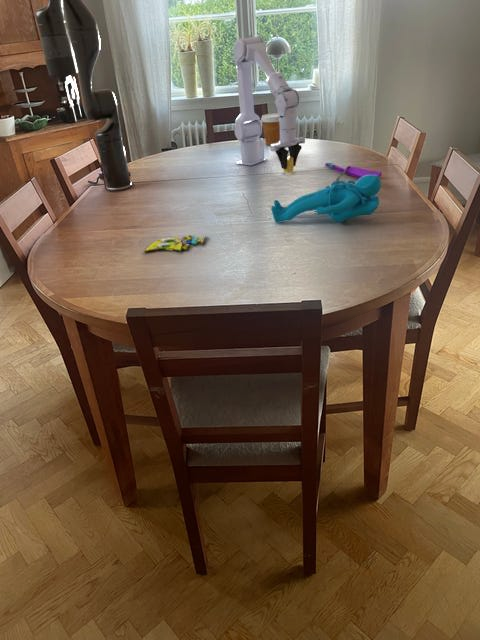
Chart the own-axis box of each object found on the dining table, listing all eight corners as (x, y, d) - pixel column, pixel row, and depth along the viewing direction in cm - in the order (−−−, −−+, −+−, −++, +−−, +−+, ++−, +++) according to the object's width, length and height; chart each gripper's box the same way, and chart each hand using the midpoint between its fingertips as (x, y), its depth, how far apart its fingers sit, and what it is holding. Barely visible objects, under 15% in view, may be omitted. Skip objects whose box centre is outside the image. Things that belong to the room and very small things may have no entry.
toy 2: (275, 189, 144) (378, 163, 133) (284, 222, 149) (384, 199, 138) (266, 210, 130) (379, 182, 120) (276, 245, 135) (386, 221, 125)
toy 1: (199, 248, 125) (143, 249, 127) (199, 251, 125) (144, 252, 127) (206, 233, 133) (154, 234, 135) (206, 236, 133) (154, 237, 136)
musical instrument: (369, 191, 157) (389, 166, 169) (368, 185, 155) (389, 160, 168) (302, 188, 169) (326, 165, 182) (302, 182, 168) (325, 160, 180)
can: (295, 171, 177) (295, 157, 174) (287, 173, 175) (286, 159, 173) (290, 168, 179) (289, 155, 177) (281, 170, 178) (281, 157, 175)
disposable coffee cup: (259, 145, 216) (257, 117, 209) (266, 140, 223) (265, 113, 216) (279, 146, 212) (278, 117, 206) (286, 140, 220) (285, 112, 213)
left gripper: (68, 55, 121) (84, 123, 129) (78, 52, 133) (92, 114, 141) (38, 58, 120) (56, 126, 129) (50, 54, 132) (66, 117, 141)
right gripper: (279, 133, 163) (280, 173, 170) (310, 125, 170) (310, 164, 177) (266, 131, 168) (267, 170, 175) (297, 123, 175) (297, 161, 182)
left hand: (75, 120), depth 135 cm, fingers open, 8 cm apart
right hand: (288, 167), depth 176 cm, fingers closed on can, 4 cm apart
